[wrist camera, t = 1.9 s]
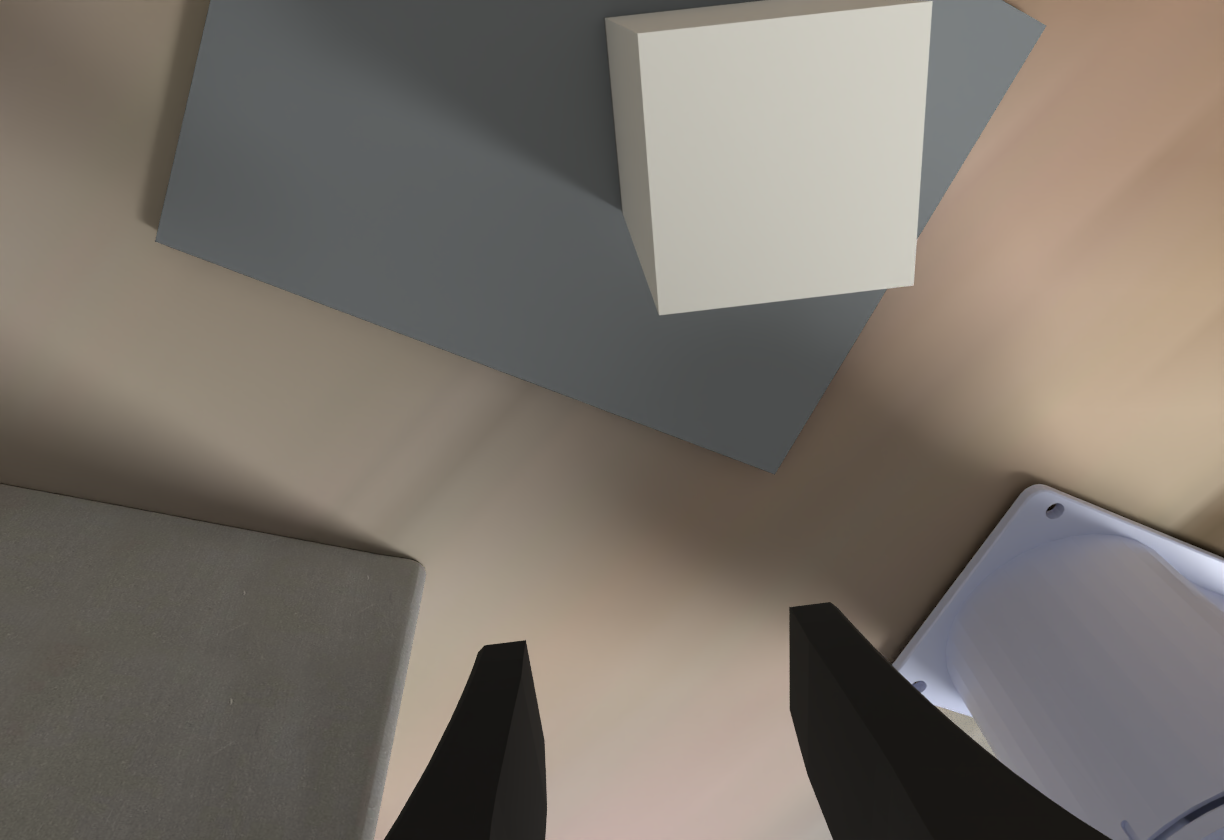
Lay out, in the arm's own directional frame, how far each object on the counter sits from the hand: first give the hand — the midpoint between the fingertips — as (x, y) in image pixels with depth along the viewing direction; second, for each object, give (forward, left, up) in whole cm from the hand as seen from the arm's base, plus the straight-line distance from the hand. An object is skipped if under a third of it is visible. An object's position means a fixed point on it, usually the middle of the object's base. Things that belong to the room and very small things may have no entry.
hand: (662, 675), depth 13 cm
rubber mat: (+3, -6, -10) cm, 12 cm away
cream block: (+1, -7, -10) cm, 12 cm away
